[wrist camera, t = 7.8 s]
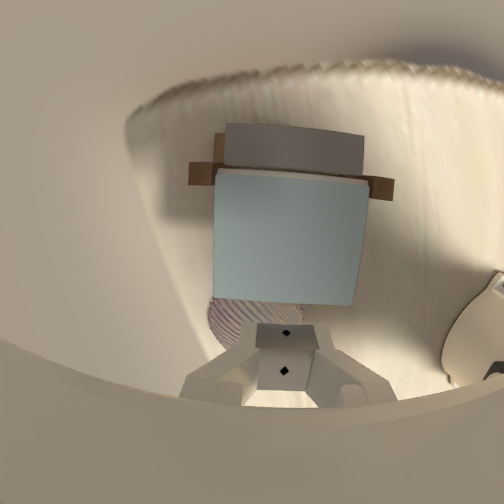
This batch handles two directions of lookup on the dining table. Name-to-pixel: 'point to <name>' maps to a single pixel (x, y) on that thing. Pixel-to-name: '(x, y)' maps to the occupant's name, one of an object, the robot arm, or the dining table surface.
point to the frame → (207, 170)
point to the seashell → (249, 317)
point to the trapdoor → (289, 216)
